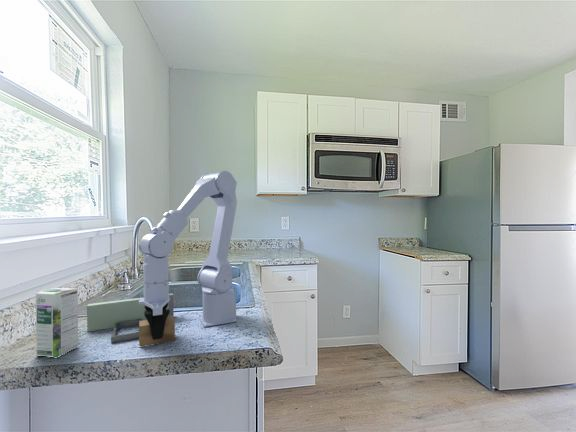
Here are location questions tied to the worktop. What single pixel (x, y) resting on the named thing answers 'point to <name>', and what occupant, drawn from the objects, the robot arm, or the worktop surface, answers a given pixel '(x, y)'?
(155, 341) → the bar
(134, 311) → the door panel
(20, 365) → the worktop surface
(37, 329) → the syrup box
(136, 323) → the socket
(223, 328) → the worktop surface
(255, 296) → the worktop surface
